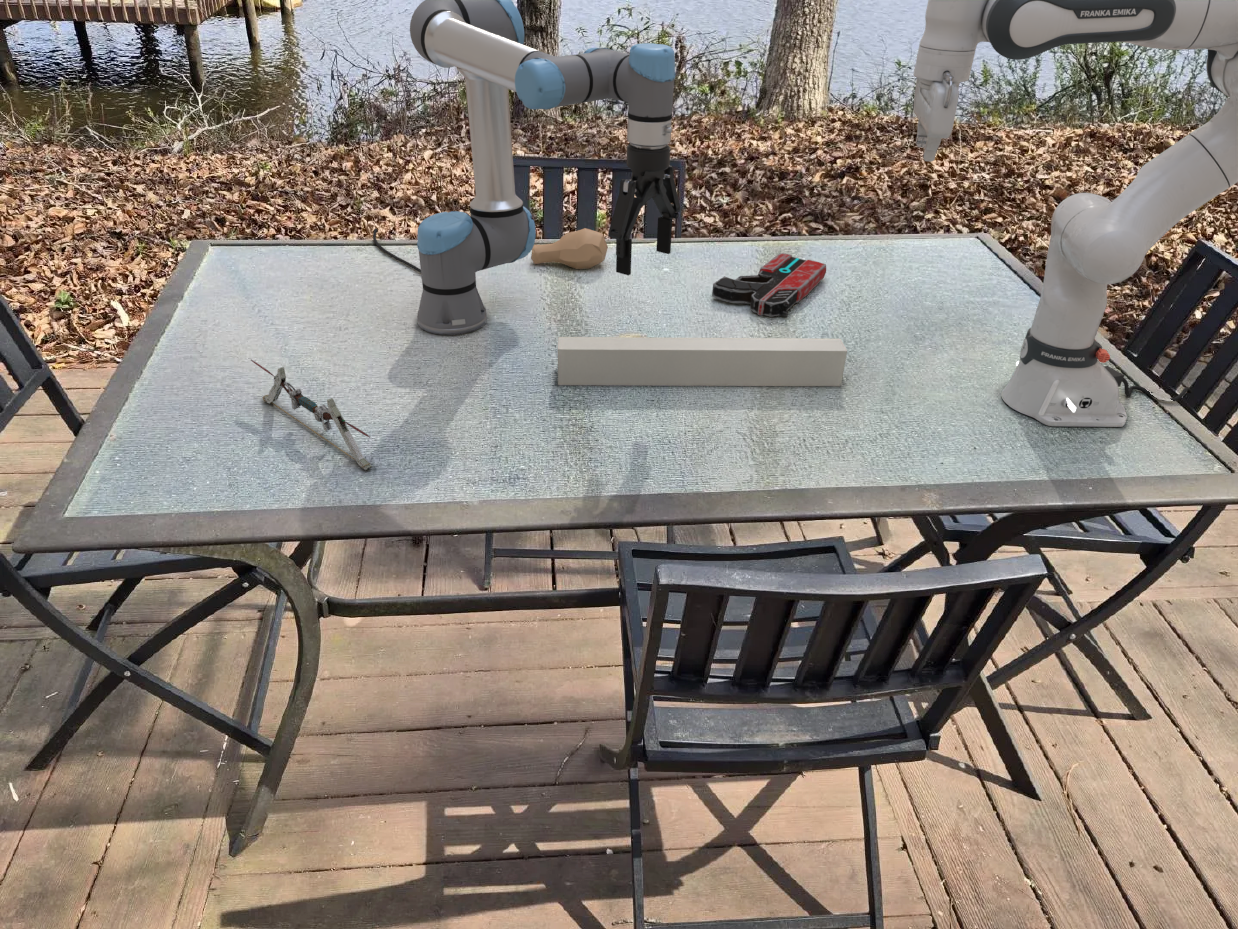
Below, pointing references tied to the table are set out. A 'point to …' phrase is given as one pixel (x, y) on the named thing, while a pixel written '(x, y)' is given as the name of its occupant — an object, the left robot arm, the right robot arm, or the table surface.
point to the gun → (772, 285)
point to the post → (700, 361)
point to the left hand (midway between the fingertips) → (643, 262)
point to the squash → (573, 250)
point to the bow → (316, 413)
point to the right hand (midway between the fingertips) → (924, 153)
